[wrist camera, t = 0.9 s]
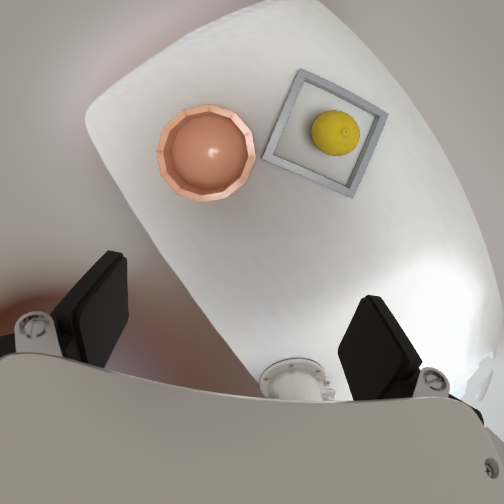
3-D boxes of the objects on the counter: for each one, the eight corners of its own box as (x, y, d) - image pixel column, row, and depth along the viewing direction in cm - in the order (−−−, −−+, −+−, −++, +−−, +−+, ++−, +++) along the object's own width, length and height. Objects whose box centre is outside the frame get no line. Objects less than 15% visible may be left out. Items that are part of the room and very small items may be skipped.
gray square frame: (383, 114, 32) (388, 114, 31) (349, 196, 37) (352, 198, 36) (298, 70, 30) (300, 68, 29) (261, 158, 35) (262, 159, 34)
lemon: (353, 141, 34) (378, 143, 27) (320, 161, 35) (338, 167, 28) (331, 106, 32) (352, 98, 25) (297, 126, 33) (310, 122, 26)
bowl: (266, 127, 33) (269, 125, 29) (235, 205, 37) (233, 214, 33) (185, 99, 32) (176, 94, 28) (157, 178, 36) (146, 183, 32)
